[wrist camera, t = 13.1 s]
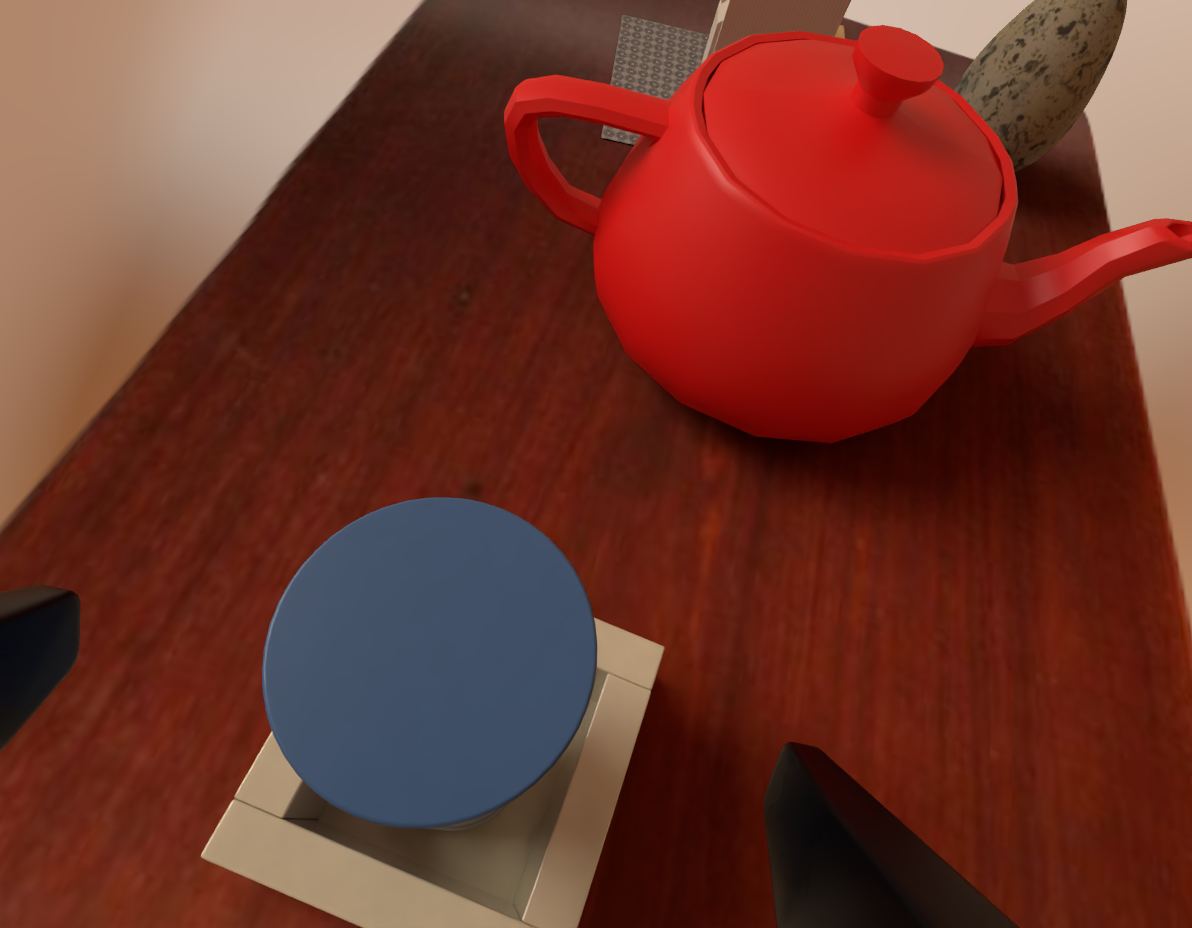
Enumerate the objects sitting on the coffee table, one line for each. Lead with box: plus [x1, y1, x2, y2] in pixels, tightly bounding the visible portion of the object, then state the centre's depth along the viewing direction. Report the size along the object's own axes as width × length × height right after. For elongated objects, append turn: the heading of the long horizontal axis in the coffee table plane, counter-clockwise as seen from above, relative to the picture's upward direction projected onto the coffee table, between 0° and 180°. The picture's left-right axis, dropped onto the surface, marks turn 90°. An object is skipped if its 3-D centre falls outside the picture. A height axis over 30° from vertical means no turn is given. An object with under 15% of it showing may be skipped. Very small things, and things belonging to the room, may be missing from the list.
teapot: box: [504, 25, 1192, 443], centre depth 25 cm, size 25×16×12 cm, turn 78°
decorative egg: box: [954, 0, 1127, 172], centre depth 34 cm, size 6×6×10 cm
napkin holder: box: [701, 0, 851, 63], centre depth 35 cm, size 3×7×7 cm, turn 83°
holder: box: [201, 618, 665, 928], centre depth 18 cm, size 9×9×5 cm
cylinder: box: [262, 497, 597, 831], centre depth 13 cm, size 4×4×14 cm
